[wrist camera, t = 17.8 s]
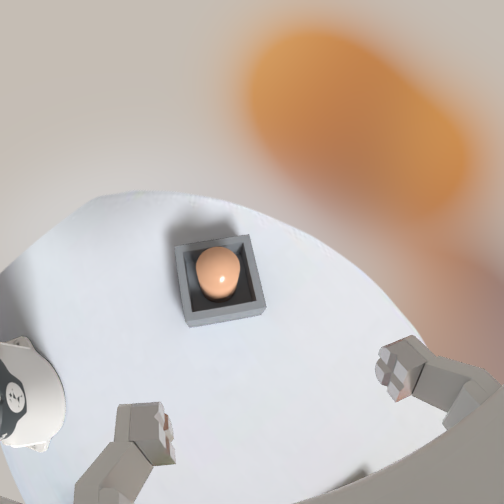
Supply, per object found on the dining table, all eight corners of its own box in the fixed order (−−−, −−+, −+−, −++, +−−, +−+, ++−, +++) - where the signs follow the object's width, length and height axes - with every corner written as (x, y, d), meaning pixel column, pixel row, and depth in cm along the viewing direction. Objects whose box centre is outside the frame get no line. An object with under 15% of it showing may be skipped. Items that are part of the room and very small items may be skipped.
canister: (203, 306, 39) (200, 292, 32) (197, 271, 40) (192, 250, 34) (240, 298, 40) (244, 283, 33) (232, 264, 41) (234, 243, 34)
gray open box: (189, 327, 38) (185, 321, 34) (179, 260, 42) (174, 246, 37) (261, 314, 40) (266, 306, 35) (246, 249, 44) (249, 234, 39)
